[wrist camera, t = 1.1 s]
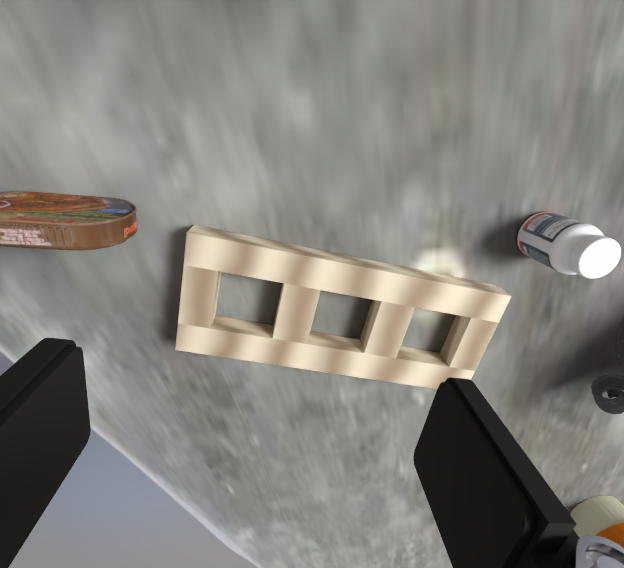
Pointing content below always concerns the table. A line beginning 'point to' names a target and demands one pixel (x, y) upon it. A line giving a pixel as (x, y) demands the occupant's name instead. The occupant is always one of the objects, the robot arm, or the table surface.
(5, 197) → the tin
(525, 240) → the pill bottle
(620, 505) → the reusable coffee cup
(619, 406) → the tankard
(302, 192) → the table surface
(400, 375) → the wooden rack
